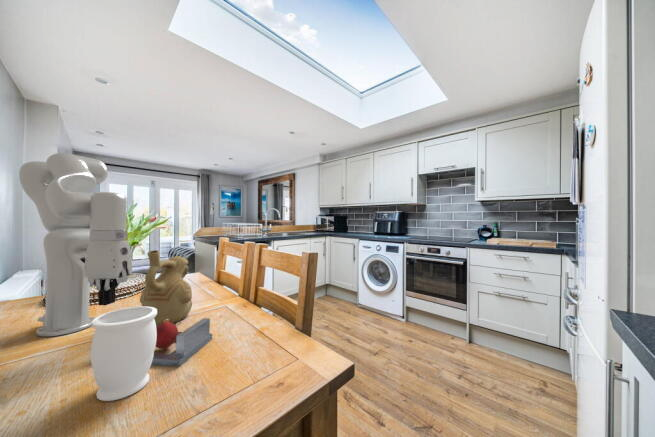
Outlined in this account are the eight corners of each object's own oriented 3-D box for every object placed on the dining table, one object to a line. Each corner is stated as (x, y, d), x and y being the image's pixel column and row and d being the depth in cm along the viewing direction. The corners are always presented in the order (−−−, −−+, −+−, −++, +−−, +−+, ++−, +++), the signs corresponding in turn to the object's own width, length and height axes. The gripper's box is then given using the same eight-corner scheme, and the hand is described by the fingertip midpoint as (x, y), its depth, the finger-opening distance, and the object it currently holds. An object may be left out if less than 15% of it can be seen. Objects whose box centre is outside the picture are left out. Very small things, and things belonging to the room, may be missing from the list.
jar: (117, 372, 55) (120, 305, 55) (165, 370, 55) (167, 305, 56) (72, 408, 44) (75, 325, 44) (132, 405, 45) (135, 324, 45)
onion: (164, 356, 61) (165, 325, 61) (146, 353, 62) (146, 322, 62) (182, 345, 67) (183, 316, 67) (165, 342, 68) (166, 314, 68)
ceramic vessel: (203, 309, 94) (204, 245, 95) (172, 332, 75) (174, 251, 75) (159, 309, 94) (161, 245, 94) (116, 332, 74) (119, 251, 75)
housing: (94, 361, 59) (95, 334, 59) (142, 334, 73) (143, 313, 73) (179, 366, 57) (180, 339, 57) (212, 338, 71) (212, 316, 71)
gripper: (144, 236, 70) (143, 300, 69) (97, 236, 71) (96, 299, 70) (120, 237, 62) (119, 309, 62) (68, 237, 64) (66, 308, 63)
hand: (107, 303), depth 66 cm, fingers closed
